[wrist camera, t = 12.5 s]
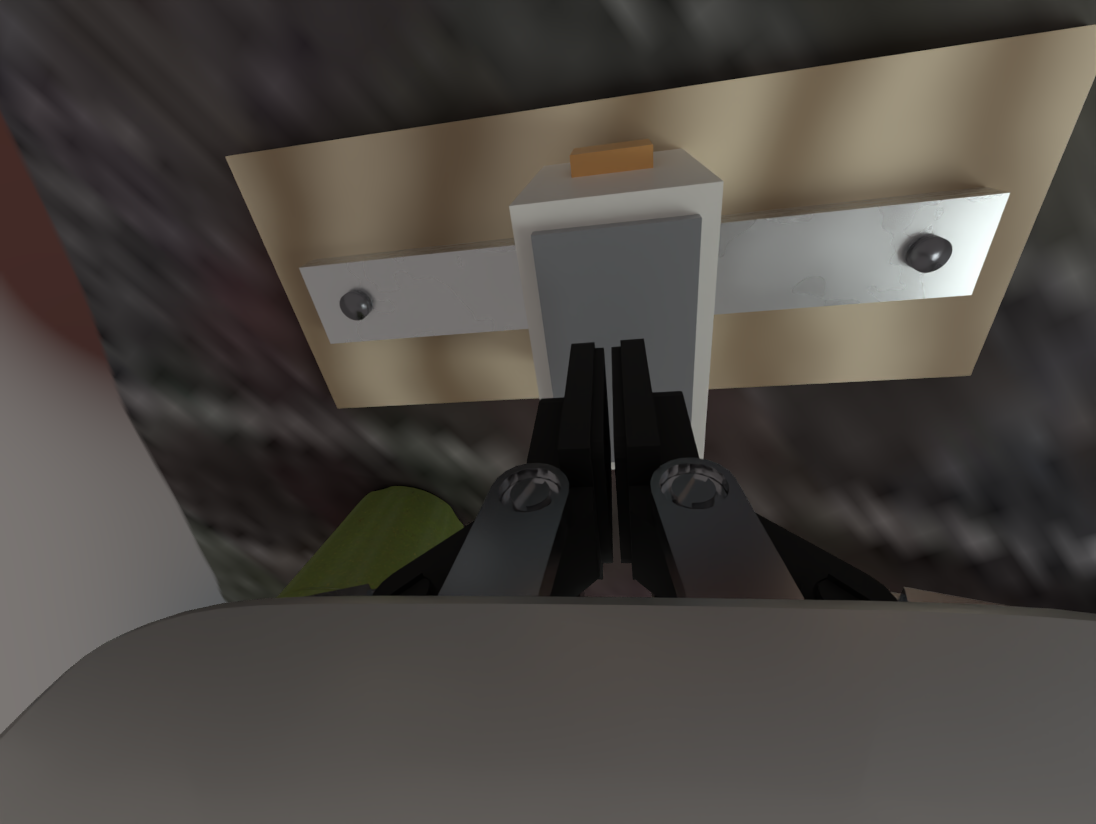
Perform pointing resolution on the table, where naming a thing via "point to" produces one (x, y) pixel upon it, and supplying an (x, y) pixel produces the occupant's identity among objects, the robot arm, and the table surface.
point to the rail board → (749, 186)
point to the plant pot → (376, 541)
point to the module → (622, 266)
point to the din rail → (742, 272)
